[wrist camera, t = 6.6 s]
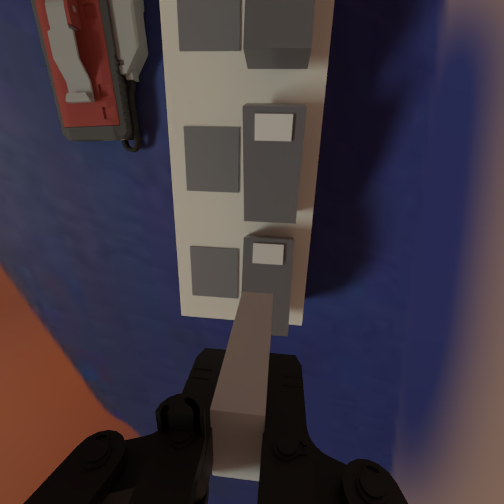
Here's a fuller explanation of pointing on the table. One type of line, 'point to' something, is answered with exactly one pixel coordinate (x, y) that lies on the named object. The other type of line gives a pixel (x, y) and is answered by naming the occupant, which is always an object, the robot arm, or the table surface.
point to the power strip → (230, 147)
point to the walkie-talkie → (94, 65)
